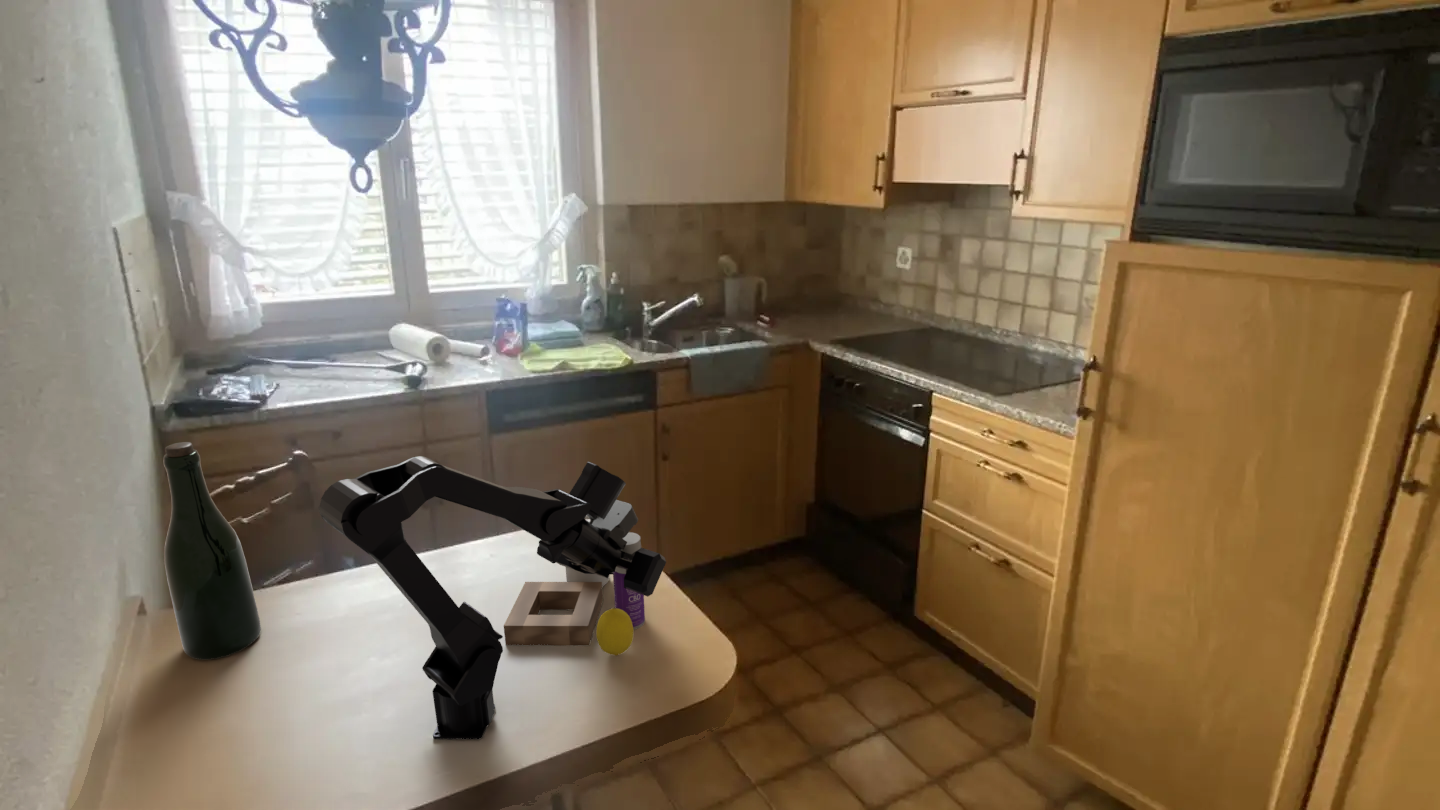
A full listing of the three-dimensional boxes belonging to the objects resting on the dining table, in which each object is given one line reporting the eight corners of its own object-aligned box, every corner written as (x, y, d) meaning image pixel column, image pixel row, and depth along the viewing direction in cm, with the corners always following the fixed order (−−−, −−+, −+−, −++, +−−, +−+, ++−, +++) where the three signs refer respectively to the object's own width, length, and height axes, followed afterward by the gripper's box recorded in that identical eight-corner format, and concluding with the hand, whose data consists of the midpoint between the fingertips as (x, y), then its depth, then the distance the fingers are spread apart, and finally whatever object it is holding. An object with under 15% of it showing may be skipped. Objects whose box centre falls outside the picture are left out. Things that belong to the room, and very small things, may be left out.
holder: (505, 645, 122) (503, 625, 121) (527, 599, 134) (525, 581, 133) (589, 645, 122) (588, 625, 120) (603, 600, 134) (601, 581, 133)
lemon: (628, 668, 116) (625, 621, 114) (592, 663, 117) (589, 617, 115) (639, 646, 121) (637, 600, 119) (605, 642, 122) (602, 597, 120)
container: (632, 633, 125) (628, 548, 120) (609, 624, 127) (604, 540, 122) (650, 619, 128) (647, 536, 124) (628, 611, 131) (623, 529, 126)
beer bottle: (261, 650, 121) (217, 449, 111) (180, 670, 117) (127, 463, 107) (263, 616, 130) (223, 428, 120) (188, 634, 126) (140, 439, 116)
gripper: (656, 506, 112) (701, 545, 124) (560, 479, 122) (610, 517, 134) (623, 579, 108) (673, 612, 120) (526, 545, 118) (582, 578, 130)
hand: (633, 576), depth 126 cm, fingers open, 6 cm apart
